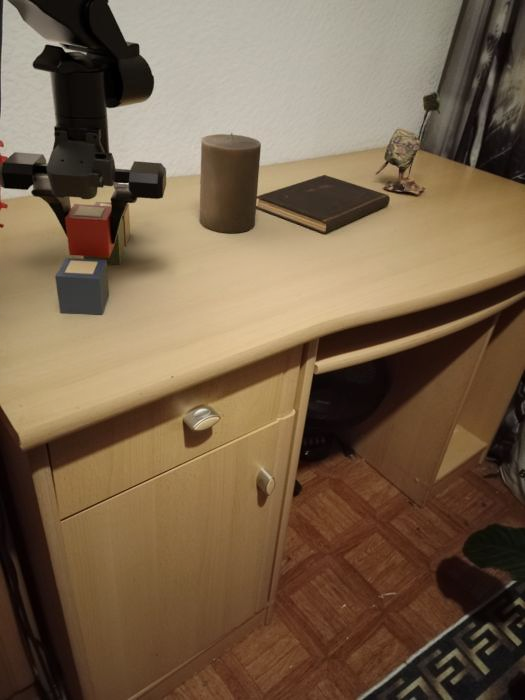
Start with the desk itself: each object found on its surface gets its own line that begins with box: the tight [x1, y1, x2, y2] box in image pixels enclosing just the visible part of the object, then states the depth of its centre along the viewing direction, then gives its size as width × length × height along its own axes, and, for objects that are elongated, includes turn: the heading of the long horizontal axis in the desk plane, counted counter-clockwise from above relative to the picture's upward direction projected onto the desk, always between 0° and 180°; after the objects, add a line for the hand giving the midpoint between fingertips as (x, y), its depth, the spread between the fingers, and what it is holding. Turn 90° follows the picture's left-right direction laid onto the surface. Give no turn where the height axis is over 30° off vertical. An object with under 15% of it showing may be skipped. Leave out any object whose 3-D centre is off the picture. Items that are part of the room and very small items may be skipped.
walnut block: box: [93, 201, 131, 248], centre depth 83 cm, size 5×5×5 cm
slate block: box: [55, 257, 110, 316], centre depth 66 cm, size 5×5×5 cm
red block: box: [65, 203, 116, 258], centre depth 70 cm, size 5×5×5 cm
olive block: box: [82, 218, 126, 265], centre depth 78 cm, size 5×5×5 cm
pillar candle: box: [199, 132, 262, 234], centre depth 90 cm, size 10×10×15 cm
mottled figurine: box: [374, 91, 441, 195], centre depth 114 cm, size 8×11×20 cm
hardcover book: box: [256, 174, 391, 235], centre depth 105 cm, size 16×23×2 cm
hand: (92, 241), depth 70 cm, fingers closed on red block, 5 cm apart
